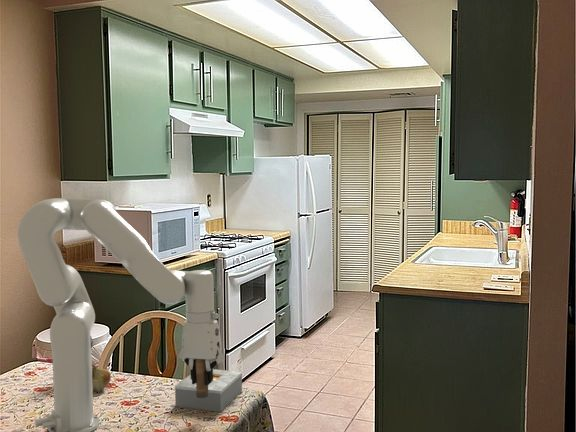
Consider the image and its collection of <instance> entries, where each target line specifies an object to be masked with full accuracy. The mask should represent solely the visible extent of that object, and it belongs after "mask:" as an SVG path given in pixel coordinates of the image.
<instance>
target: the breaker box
mask: <svg viewBox="0 0 576 432" xmlns="http://www.w3.org/2000/svg"><path fill="white" fill-rule="evenodd" d="M213 377H218V379H217V380H213V381H212V382H211V383H210V384H209V385H208V397H206V398H198V397H197V396H196V383H195V384H192V380H191V373H190V374H189V375H187V376H186V377H185V378H184V379H182V380H181V381H180V382H178V383H177V384H176V385H174V386H175V387H174V388H175V390H174V391H175V392H174V395H175V396H174V397H175V399H174V400H175V404H174V406H175V407H178V408H179V407H180V408H187V409H194V410H195V409H196V410H202V411H209V412H216V413H221V412H222V411H223V410H225V409H226V407H228V406H229V405H230V404H231V403H232V401H234V400H235V399H236V398H237V397H238V395H240V394H241V393H242V392H243V372H242V371H233V370H226V369H225V370H224V369H214V368H213Z"/></svg>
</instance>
